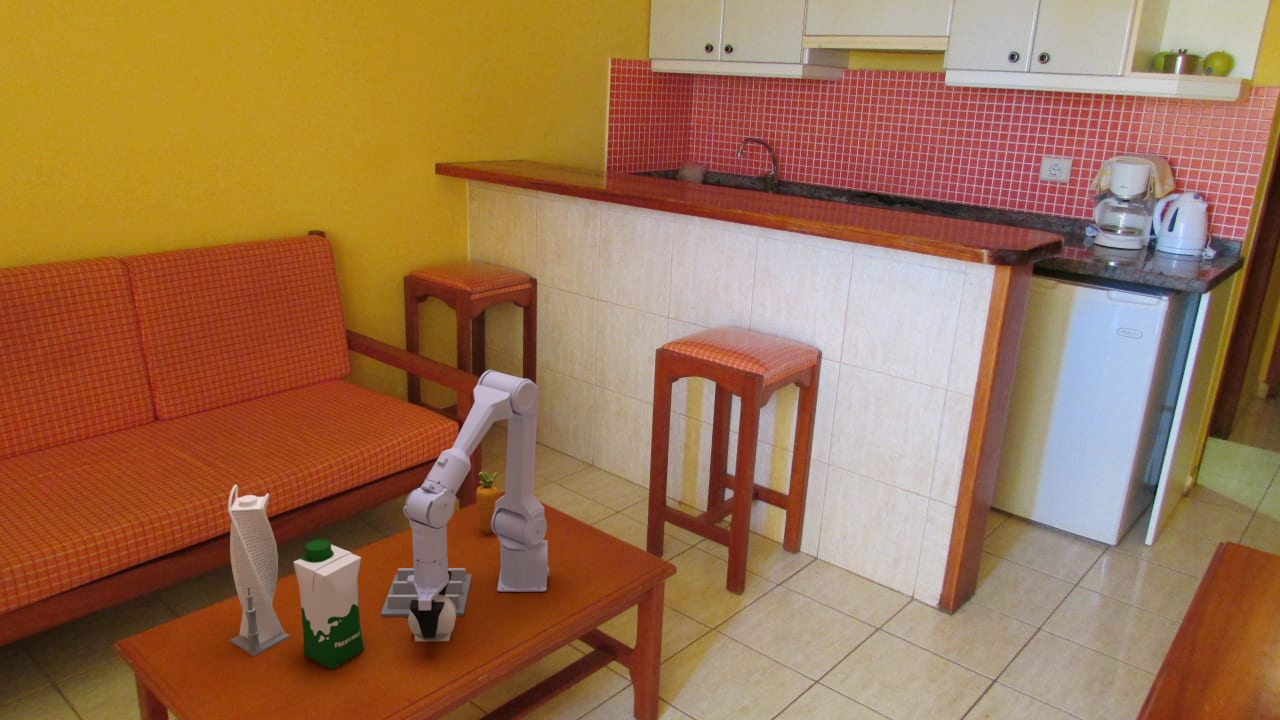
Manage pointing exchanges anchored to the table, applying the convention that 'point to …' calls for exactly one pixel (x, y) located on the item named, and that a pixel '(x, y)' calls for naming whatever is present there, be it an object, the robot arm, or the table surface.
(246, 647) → the skyscraper
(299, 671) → the table surface
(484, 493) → the carrot
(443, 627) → the cream round puck
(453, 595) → the dish rack
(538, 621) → the table surface
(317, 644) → the milk carton
